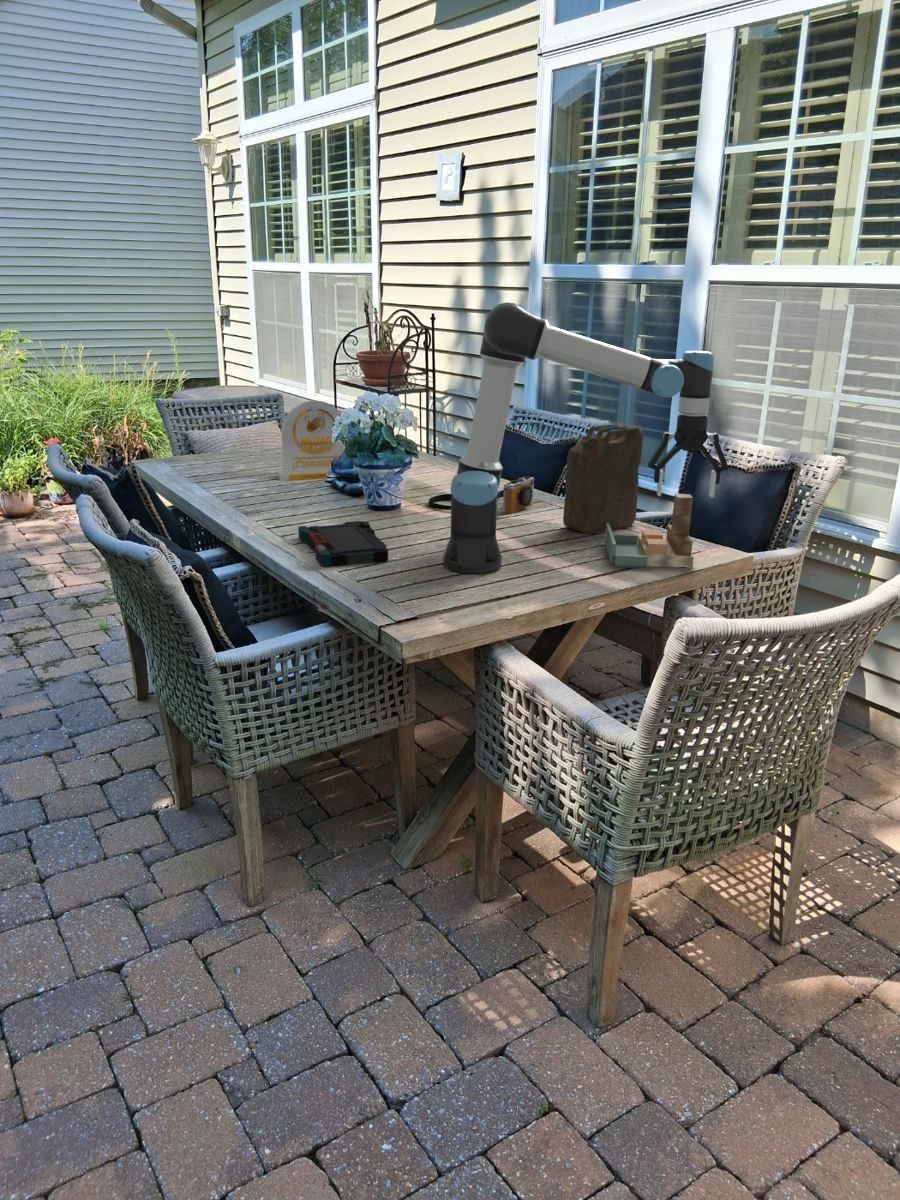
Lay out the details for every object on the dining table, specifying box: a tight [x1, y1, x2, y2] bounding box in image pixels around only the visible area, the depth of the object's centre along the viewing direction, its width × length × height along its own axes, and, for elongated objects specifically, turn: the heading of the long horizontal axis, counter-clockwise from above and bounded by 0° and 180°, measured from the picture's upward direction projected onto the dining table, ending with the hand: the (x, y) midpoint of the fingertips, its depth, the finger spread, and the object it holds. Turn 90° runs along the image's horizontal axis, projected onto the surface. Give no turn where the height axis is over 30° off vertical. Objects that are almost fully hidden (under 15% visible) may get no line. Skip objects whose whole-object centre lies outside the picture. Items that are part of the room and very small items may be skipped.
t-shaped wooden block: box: [665, 493, 694, 556], centre depth 236 cm, size 4×16×14 cm, turn 175°
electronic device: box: [297, 520, 389, 568], centre depth 242 cm, size 20×31×5 cm, turn 21°
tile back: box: [640, 529, 664, 544], centre depth 243 cm, size 5×5×2 cm
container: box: [562, 422, 644, 534], centre depth 263 cm, size 22×10×30 cm, turn 122°
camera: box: [427, 475, 535, 515], centre depth 291 cm, size 30×30×10 cm
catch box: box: [604, 524, 648, 569], centre depth 239 cm, size 9×21×6 cm, turn 175°
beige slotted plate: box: [638, 536, 695, 569], centre depth 239 cm, size 12×18×3 cm, turn 175°
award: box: [276, 399, 344, 481], centre depth 324 cm, size 28×9×28 cm, turn 108°
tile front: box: [645, 539, 668, 554], centre depth 234 cm, size 5×5×2 cm
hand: (684, 495), depth 234 cm, fingers open, 13 cm apart
